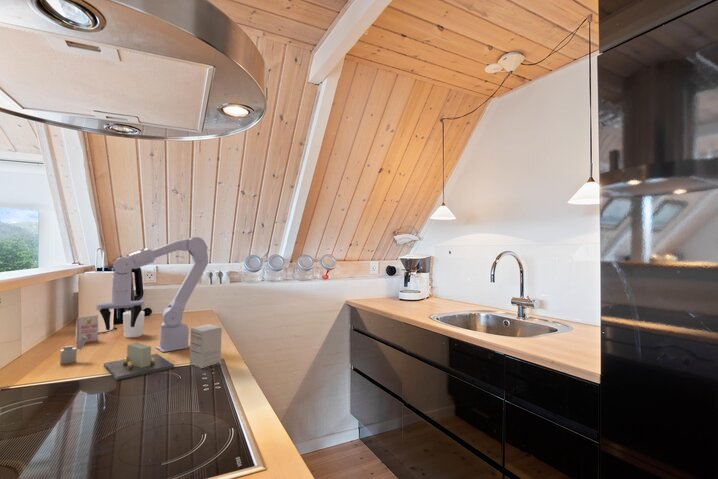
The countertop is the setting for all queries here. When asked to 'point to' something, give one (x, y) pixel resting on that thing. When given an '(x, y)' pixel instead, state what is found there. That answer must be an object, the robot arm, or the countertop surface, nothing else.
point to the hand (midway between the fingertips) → (120, 328)
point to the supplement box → (205, 345)
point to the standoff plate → (136, 367)
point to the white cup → (138, 327)
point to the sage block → (139, 354)
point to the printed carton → (87, 328)
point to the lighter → (71, 352)
